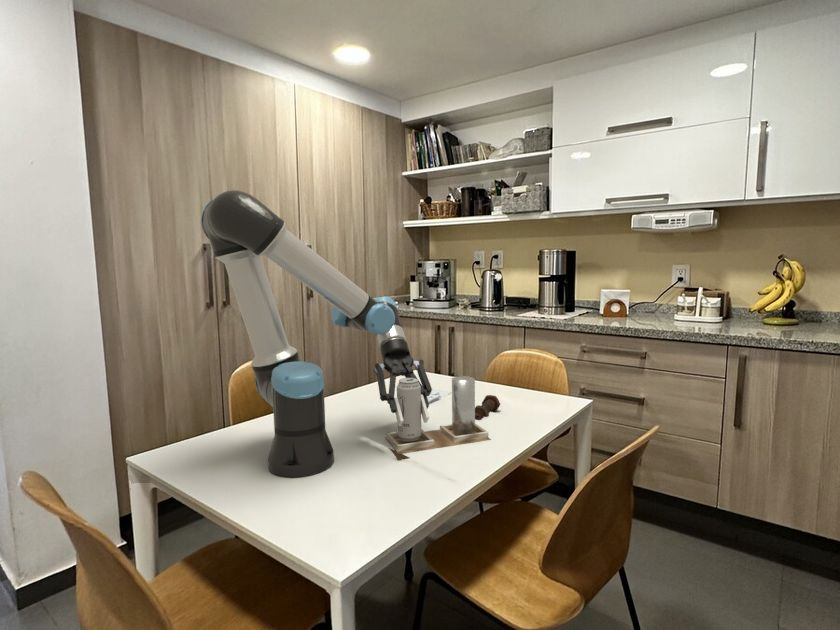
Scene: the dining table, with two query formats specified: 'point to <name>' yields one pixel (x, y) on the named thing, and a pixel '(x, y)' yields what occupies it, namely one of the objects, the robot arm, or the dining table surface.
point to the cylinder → (463, 405)
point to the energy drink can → (409, 409)
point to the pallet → (433, 440)
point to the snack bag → (432, 395)
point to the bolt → (486, 407)
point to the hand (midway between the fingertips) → (413, 421)
